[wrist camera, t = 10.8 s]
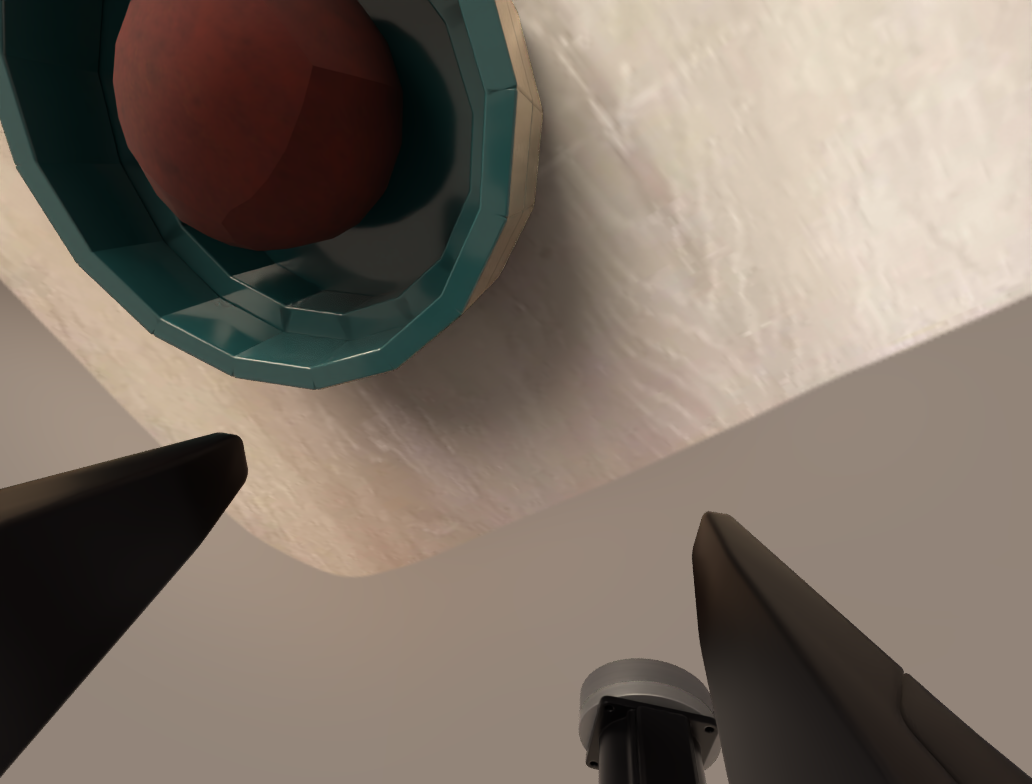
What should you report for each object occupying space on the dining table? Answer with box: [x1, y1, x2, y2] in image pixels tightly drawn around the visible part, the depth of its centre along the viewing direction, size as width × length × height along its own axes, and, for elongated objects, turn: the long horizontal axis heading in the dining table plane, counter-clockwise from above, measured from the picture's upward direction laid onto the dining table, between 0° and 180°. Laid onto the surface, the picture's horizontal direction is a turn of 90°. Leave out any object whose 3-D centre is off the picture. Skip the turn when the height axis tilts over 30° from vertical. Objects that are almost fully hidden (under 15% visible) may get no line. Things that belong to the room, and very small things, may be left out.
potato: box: [113, 0, 403, 251], centre depth 14 cm, size 7×8×7 cm
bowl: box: [0, 0, 543, 390], centre depth 15 cm, size 15×15×6 cm
